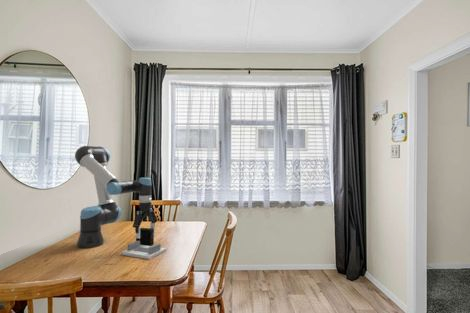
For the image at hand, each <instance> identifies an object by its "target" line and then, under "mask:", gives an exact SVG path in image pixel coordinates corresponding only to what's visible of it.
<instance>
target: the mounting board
mask: <svg viewBox="0 0 470 313" xmlns="http://www.w3.org/2000/svg"><path fill="white" fill-rule="evenodd" d="M165 252H167V247H166V248H164V247H161V243H156V244H152V245H151V246H146V245H140V241H136V240H135V241H132V242H129V243H128V244H127V249H125V250H122V251H121V252H120V255H123V256H128V257H134V258H141V259H147V260H151V259H154V258H155V257H157V256H160V255H161V254H163V253H165Z"/></svg>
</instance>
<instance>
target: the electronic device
mask: <svg viewBox="0 0 470 313" xmlns="http://www.w3.org/2000/svg"><path fill="white" fill-rule="evenodd" d="M154 234H155V233H154V229H152V228H147V227H146V228H145V227H140V239H139V238H136V237H135V241H140V245H146V246H153V245H155V244H154V242H155V241H154V240H155V239H154V238H155V235H154Z"/></svg>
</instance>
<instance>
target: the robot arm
mask: <svg viewBox="0 0 470 313" xmlns="http://www.w3.org/2000/svg"><path fill="white" fill-rule="evenodd" d="M74 159H75V161H76V162H77V164H78V165H80V166H81V167H82V168H85V169H87V171H89V172H90V173H91V174H92V175H93V177H94V184H95V189H96V193H97V200H98V204H97V205H93V206H87V207H85V208H82V209H81V211H80V215H79V220H80V222H79V223H80V224H79V226H80V227H79V228H80V230H79V235H78V238H77V239H78V240H77V242H76V247H77V248H80V249H88V248H89V249H90V248H95V247H99V246H102V245H103V244H104V243H105V241H104V237H103V234H102V226H105V225H108V224H113V223H115V222H117V221H119V220H120V217H121V216H122V208H121V207H120V206H119V205H118V204H116V201H115V200H113V196H114V195H115V196H117V195H121V194H122V195H123V194H129V193H138V203H139V204H138V208H139V209H140V210H137V211H136V212H135V216H134V220H133V223H132V228H135V229H134V230H135V239H136V238H139V239H140V228H141V227H140V226H141V224H142V222H143V220H144V219H145V218H147V217H148V219H149V220H150V228H152V229H154V234H155V231H156V230H155V227H156V223H157V221H158V219H157V216H156V212H155V208H154V207H152V178H151V177H139V178H138V180H126V181H125V180H123V181H120V180H119V179H118V177H116V176H115V175H113V174H112V173H111V172H110V171H109V170H107V166H108V164H109V161H110V159H111V153H110V151H109V150H108V149H107V148H106V147H103V146H94V145H93V146H91V145H83V146H80V147H79V148H77V150H76V151H75V154H74Z"/></svg>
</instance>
